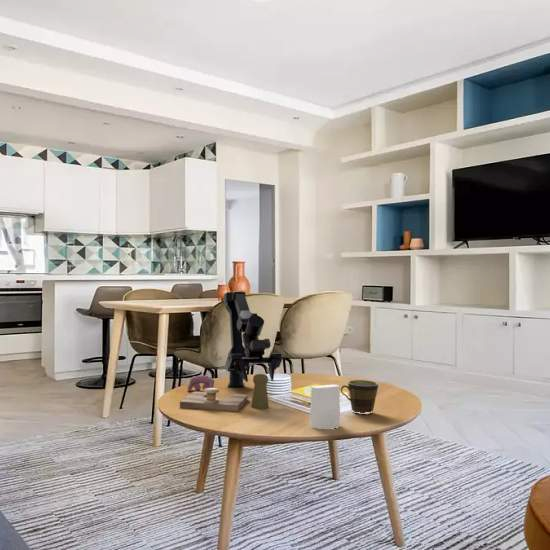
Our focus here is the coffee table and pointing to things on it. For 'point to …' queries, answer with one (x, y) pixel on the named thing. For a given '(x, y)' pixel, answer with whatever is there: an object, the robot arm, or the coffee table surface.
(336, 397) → the upright rounded white block
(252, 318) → the robot arm
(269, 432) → the coffee table surface
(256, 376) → the olive bulb shape
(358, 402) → the ceramic cup
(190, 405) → the notched board
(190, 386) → the purple toy elephant
